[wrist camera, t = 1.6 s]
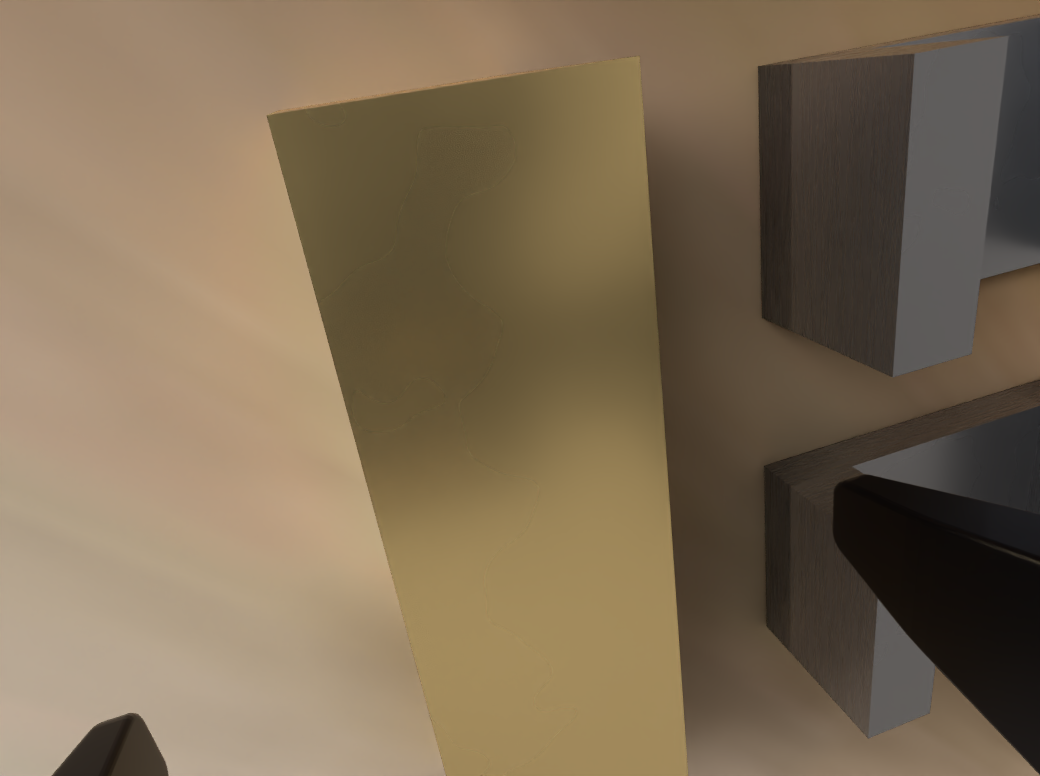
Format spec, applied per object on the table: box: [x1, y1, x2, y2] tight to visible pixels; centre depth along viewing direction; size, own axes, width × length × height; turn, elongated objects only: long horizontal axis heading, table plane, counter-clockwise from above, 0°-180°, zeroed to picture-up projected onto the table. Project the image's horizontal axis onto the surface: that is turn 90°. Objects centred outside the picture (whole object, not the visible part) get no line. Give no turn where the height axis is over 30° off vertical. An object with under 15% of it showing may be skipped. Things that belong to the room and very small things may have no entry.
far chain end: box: [764, 380, 1040, 738], centre depth 14 cm, size 4×7×3 cm, turn 100°
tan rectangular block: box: [267, 56, 688, 776], centre depth 10 cm, size 12×3×4 cm, turn 10°
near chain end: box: [758, 14, 1040, 377], centre depth 11 cm, size 4×7×3 cm, turn 100°
